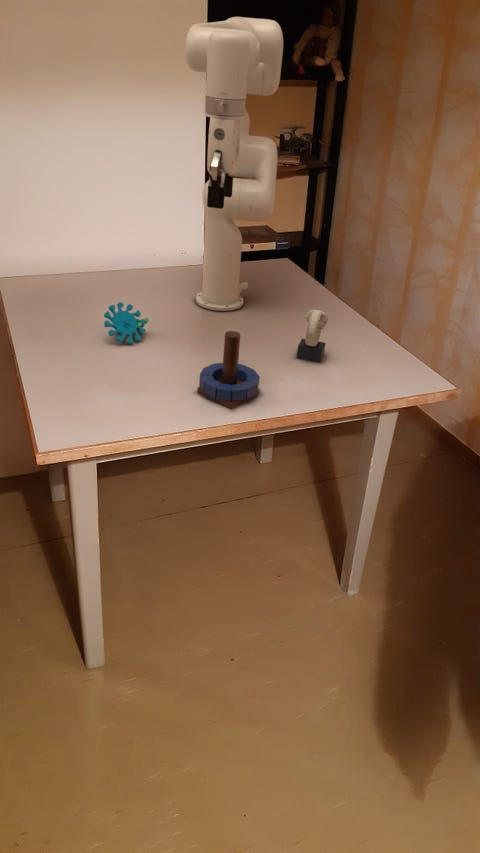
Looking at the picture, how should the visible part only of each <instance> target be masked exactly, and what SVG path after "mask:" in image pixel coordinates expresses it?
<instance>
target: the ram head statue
mask: <svg viewBox="0 0 480 853" xmlns="http://www.w3.org/2000/svg"><path fill="white" fill-rule="evenodd" d="M304 319H305V320H306V322H307V327H306V332H305V338H301V340H300V341H299V343H298V345H297V350H296V359H299V360H304V361H308V362H309V361H310V362H312V363H313V362H314V363H320V364H321V362H322V360H323V357H324V356H325V351H326V350H325V349H326V343H327V342H323V341H320V338H321V333H322V331H324V328H325V327H326V326H327V324H328V322H329V316H328V314H327V313H326V312H324V311H323V310H320V309H311V310H309V311H307V314H305V315H304Z"/></svg>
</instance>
